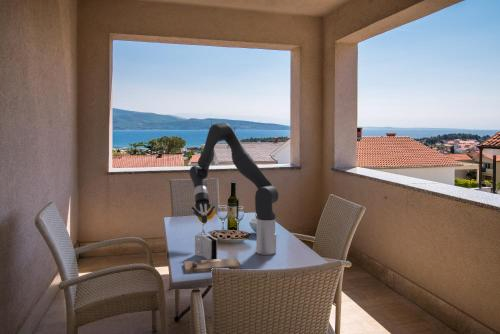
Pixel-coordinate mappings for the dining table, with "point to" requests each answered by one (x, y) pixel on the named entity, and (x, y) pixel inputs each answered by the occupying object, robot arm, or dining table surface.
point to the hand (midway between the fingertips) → (204, 222)
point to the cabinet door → (211, 265)
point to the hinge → (206, 246)
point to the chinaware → (253, 224)
